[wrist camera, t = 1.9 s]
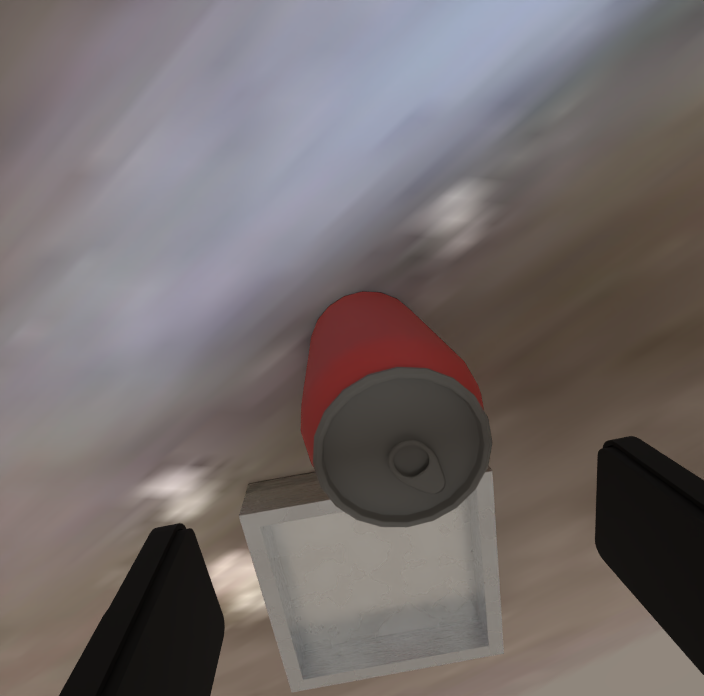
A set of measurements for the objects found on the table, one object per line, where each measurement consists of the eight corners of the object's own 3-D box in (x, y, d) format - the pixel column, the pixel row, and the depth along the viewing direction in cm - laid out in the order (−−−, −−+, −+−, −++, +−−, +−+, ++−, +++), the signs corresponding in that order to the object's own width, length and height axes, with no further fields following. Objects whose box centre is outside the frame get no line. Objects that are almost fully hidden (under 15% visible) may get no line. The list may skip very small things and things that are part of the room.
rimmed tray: (473, 444, 26) (492, 470, 23) (486, 613, 30) (503, 653, 27) (248, 483, 26) (238, 515, 23) (295, 648, 30) (291, 692, 27)
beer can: (360, 415, 25) (389, 576, 13) (287, 341, 23) (248, 452, 12) (442, 348, 24) (550, 458, 12) (372, 265, 22) (421, 304, 11)
